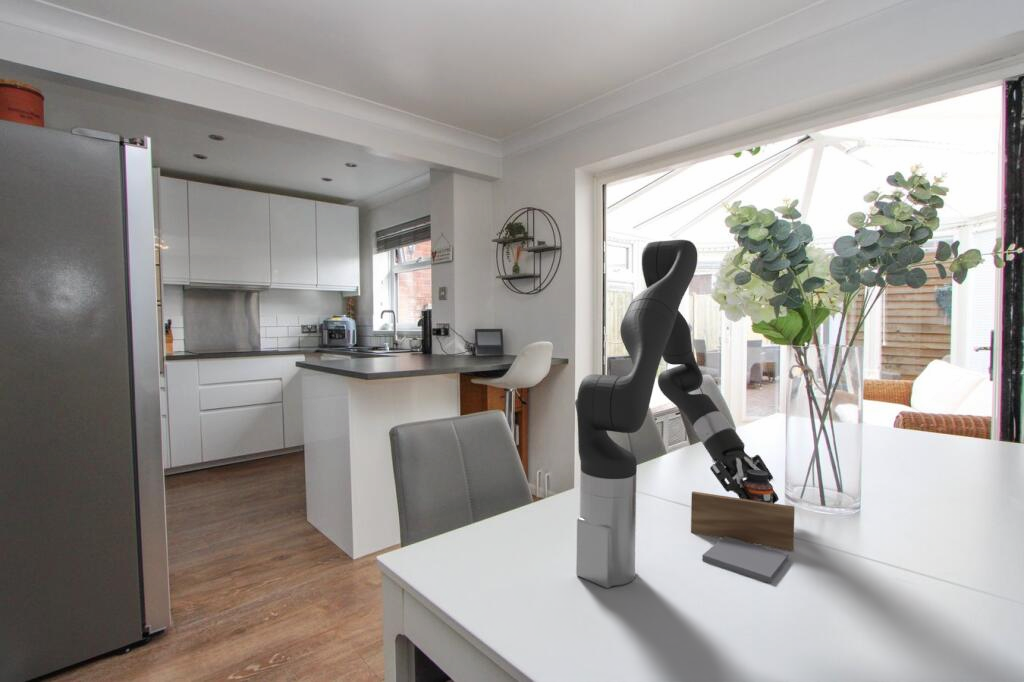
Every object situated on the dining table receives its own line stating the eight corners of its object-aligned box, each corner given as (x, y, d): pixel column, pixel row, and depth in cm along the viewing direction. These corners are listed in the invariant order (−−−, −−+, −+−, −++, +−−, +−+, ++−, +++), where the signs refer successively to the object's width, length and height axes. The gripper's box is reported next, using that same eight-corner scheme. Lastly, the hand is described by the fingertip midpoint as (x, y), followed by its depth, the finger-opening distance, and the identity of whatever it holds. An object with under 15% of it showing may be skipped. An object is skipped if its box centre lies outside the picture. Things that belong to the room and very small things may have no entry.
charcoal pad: (770, 583, 79) (770, 577, 78) (702, 560, 86) (702, 554, 86) (788, 559, 87) (788, 554, 87) (724, 540, 94) (725, 535, 94)
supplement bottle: (776, 532, 98) (777, 477, 98) (744, 529, 99) (746, 475, 99) (767, 521, 104) (768, 468, 104) (737, 518, 105) (738, 467, 105)
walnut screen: (793, 551, 90) (794, 508, 90) (690, 532, 98) (691, 493, 98) (792, 548, 91) (794, 506, 91) (691, 530, 99) (692, 491, 99)
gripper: (705, 429, 105) (752, 501, 94) (749, 424, 111) (798, 490, 101) (685, 448, 110) (729, 518, 99) (729, 442, 116) (774, 507, 106)
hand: (763, 504), depth 100 cm, fingers open, 6 cm apart
